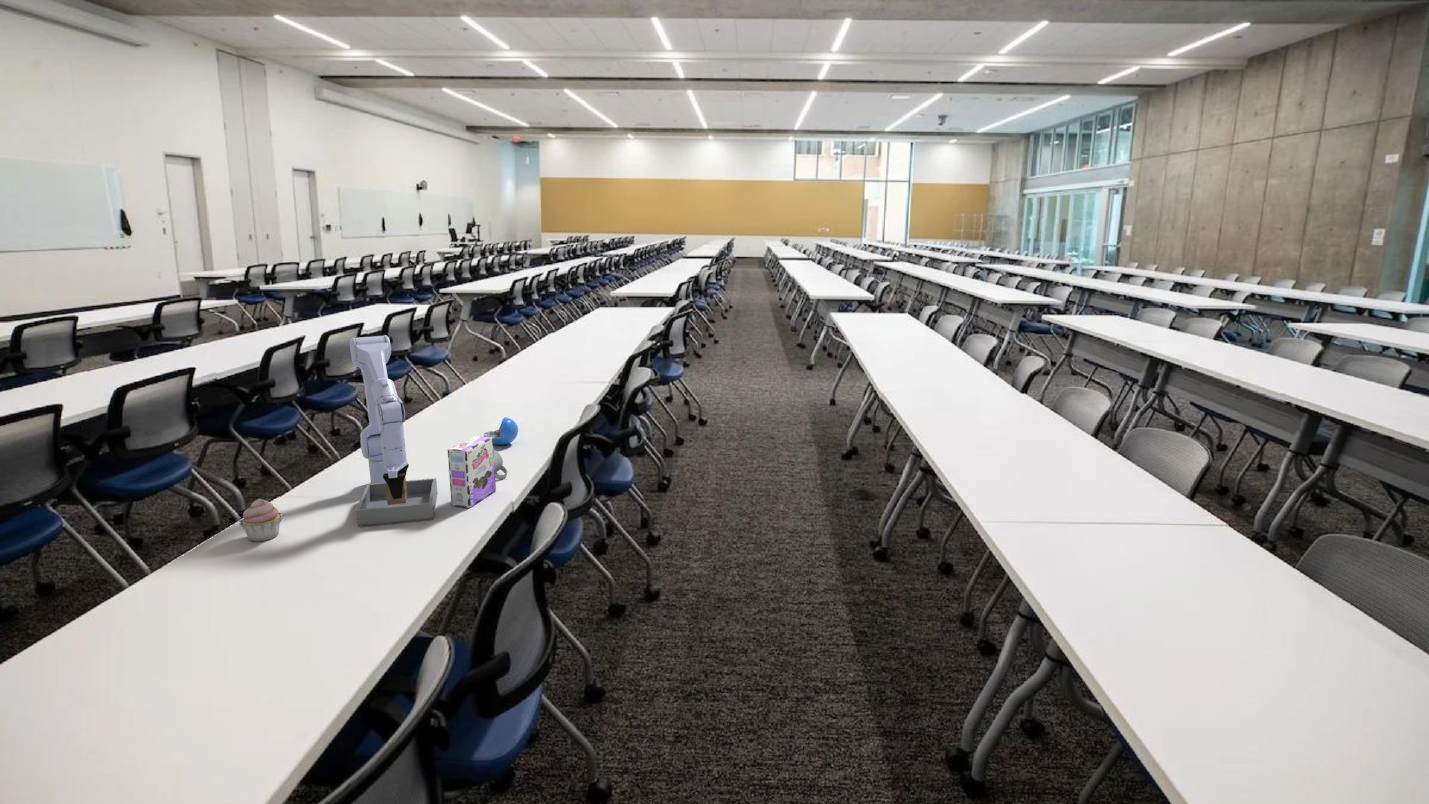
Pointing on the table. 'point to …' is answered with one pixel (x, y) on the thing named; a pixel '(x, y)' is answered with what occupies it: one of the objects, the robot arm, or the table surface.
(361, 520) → the grey bin
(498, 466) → the ceramic mug
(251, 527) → the cupcake
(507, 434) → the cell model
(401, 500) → the walnut block
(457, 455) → the candy box
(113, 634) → the table surface
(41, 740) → the table surface
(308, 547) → the table surface
